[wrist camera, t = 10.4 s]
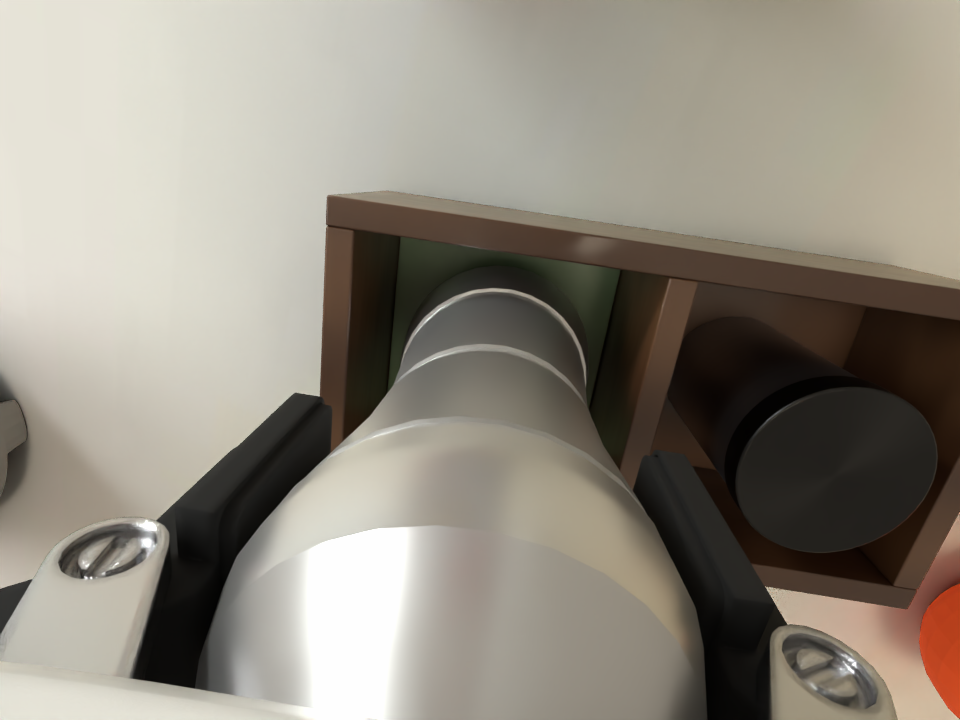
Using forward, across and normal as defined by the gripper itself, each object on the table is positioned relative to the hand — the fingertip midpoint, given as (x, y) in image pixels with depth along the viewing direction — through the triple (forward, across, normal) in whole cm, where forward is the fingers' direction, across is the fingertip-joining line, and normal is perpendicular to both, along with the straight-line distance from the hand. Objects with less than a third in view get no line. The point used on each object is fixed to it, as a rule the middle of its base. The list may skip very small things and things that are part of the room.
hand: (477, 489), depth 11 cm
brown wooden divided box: (+12, -5, 0) cm, 12 cm away
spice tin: (+11, -9, 0) cm, 14 cm away
